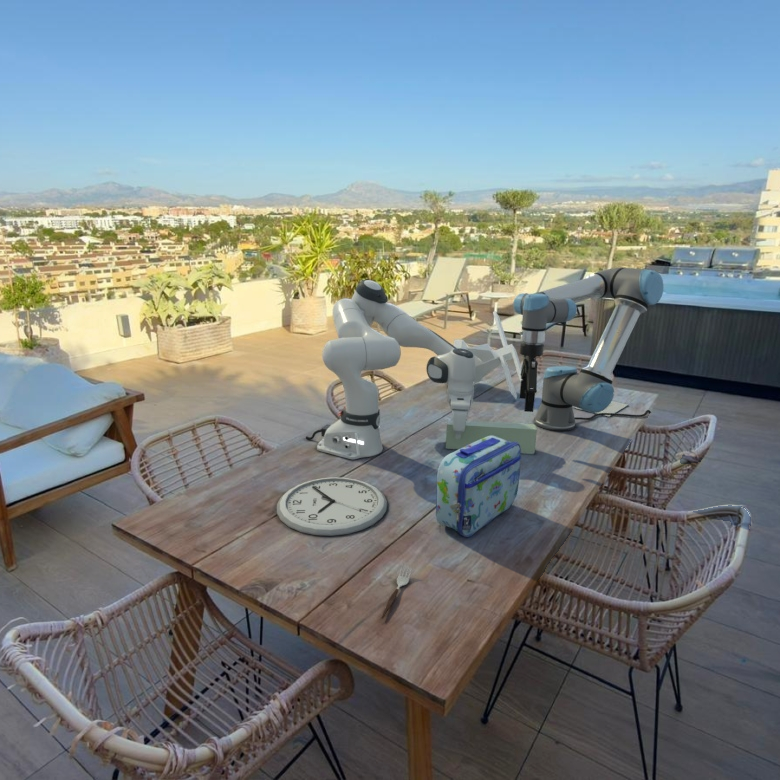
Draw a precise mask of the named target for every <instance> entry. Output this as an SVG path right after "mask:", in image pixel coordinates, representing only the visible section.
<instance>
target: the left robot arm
mask: <svg viewBox="0 0 780 780" xmlns="http://www.w3.org/2000/svg"><path fill="white" fill-rule="evenodd" d="M388 301H389V297H388V296H387V294H386V291H385V290H384V288H383V286H382V285H381V284H380V283H378V282H377V281H375V280H371V279H363V280H360V281H359V282H358V284H357V285H356V287H355V291H354V293H353V295H352V297H351V298H341V299H339V300H336V302H335V303H334V305H333V306H332V321H333V326H334V329H335V332H336V334H337V337H338V338H334V339H330V340H328V341H327V342H326V343H325V344H324V346H323V348H322V351H321V357H322V362H323V364H324V365H325V367H326V368H327V369H328V370H329V371H331V372H332V373H333V374H334V375H336V376H337V378H338V379H339V380H340V382H341V384H342V386H343V390H344V400H345V401H344V402H345V406H343V409H341V410H340V412H339V413H338V418H339V419H338V420H336V421H335V422H333V423H332V424H325V425H324V426H322V427H321V429H320V428H319V429H317V430H315V431H314V432H313V433H312V435H311V436H305V439H306V440H308V441H311V440H313V439H315V436H316V435H317V434H319V433H321V437H323V438H322V439H321V440H320V441H319V442H318V443H317V445H316V450H317V451H319V452H322V453H326V454H329V455H332V456H336V457H341V458H344V459H348V460H358V459H361V458H368V457H369V458H370V457H374V456H377V455H379V454H381V453H382V452H383V450H384V447H383V444H382V439H381V434H380V425H381V413H380V412H381V411H380V408H379V405H380V404H379V401H380V399H379V398H380V397H379V394H380V393H379V392H380V391H379V388H378V386H377V384H376V383H375V382H373V381H372V380H369V379H367V378H365V377H362V372H365V371H379V370H380V371H381V370H385V369H389V368H393V367H396V366H397V365H398V363H399V362H400V359H401V356H402V349H401V347H402V348H417V349H419V348H420V349H426V350H429V351H431V352H433V353H434V354H436V355H435V356H432V357H430V358H429V359H428V361H427V363H426V374H427V376H428V378H429V380H431V381H432V382H433V383H435V384H436V383H437V384H444V383H446V384H448V385H447V392H446V402H447V403H448V404H449V408H450V410H451V418H452V419H451V420H453V431H454V432H455V433H456V434H455V438H456V439H460V438H461V432H464V431H465V427H466V421H467V419H468V415H469V411H470V410H471V406H472V404H474V393H475V387H474V386H475V385H474V382H473V381H474V378H475V358H474V355H473V353H472V352H471V351H469V350H466V349H461V348H456V347H454V346H453V344H452V343H451V342H449V341H448V340H446V339H445V338H443V337H442V336H441V335H439V333H436V331H433V330H432V329H430V328H429V327H426V326H424V325H423V324H421V323H420V322H418V321H417V320H415V319H414V318H413V317H412V316H410V315H409V314H408V313H407V312H406V311H405V310H403V309H402V308H400V307H399V306H397V305H395V304H393V303H389V302H388ZM374 322H375V323H377V324H378V326H379V328H380V329H381V330H382V332H383V333H384V334H383V333H381V332H379V331H377V330H375V328H373V327H372V325H373V324H374Z"/></svg>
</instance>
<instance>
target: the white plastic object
mask: <svg viewBox="0 0 780 780" xmlns="http://www.w3.org/2000/svg"><path fill="white" fill-rule="evenodd" d="M492 315H493V319H494V321H495V324H496V325H495V326H496V328H497V332H498V335H499V338H500V342H501V345H502V347H500V348H498V349H496V350H495V349H493V348H492V347H491V346H490V344H489V343H488V342H487V343H483V344H479V345H473V346H469V345H468V343H466V342H465V340H464V339H463V338H460V339H458V338H454V340H453V344H452V345H453V346H454V347H456V348H461V349H466V350H469V351H471V352H472V353H473V355H474V358H475V378H474V381H473V384H477V383H480V382H482V381H484V378H485V377H486V376H487V375H489V374H490V373H492V372H494V371H495V370H496V369H497V368H499V367H500V366H502V370H503V373H504V376H505V380H506V383H507V386H508V390H509V393H510V394H511V395H512V397H513V398H514V399H515V400H517V392H516V391H517V390H516V388H515V385H514V381H513V378H512V375H511V371H510V369H509V365H508V361H510V360H513V363H514V366H515V369H516V372H517V376H518V380H519V382H520V383H521V380H523V379H521V370H522V365H521V362H520V359H519V355H518V352H517V349H516V347H515V346H514V345H513V343H511V344H508V341H507V337H506V334H505V331H504V328H503V325H502V321H501V318H500V315H499V314H498V312H497V311H496V310H495V311H492ZM443 384H444V385H445V386H448V384H446V383H443Z"/></svg>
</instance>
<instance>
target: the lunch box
mask: <svg viewBox="0 0 780 780" xmlns="http://www.w3.org/2000/svg"><path fill="white" fill-rule="evenodd" d="M521 455H522V453H521V449H520V445H519V444H518V443H517V442H509V441H506V440H504V439H501V438H498V437H496V436H487V437H485V438H482V439H480V440H478V441H476V442H474V443H471V444H469V445H467V446H465V447H463V448H461V449H456V450H454V451H453V452H451V453H448V454H446V455H445V456H444V457H443V458H442V459H441V460H440V463H439V465H438V467H437V474H436V485H435V486H436V494H435V495H436V497H435V498H436V499H435V516H436V522H437V523H438V524H440V525H442V526H445V527H448V528H450V529H453V530H454V531H456V532H458V534H459V535H461V537H465V538H470V537H471V536H473V535H475V534H476V533H477V532H478V531H479V530H480V529H482V528H483V527H485V526H486V525H488V524H489V523H490V522H491V521H493V520H494V519H495V518H496V517H497V516H499V515H501V514H502V513H504V512H505V511H507V510H508V509H510V508H511V507H512V506H513V504H514V502H515V500H516V498H517V495H518V494H517V493H518V491H519V483H520V474H521V458H522V457H521Z"/></svg>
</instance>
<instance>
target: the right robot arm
mask: <svg viewBox="0 0 780 780" xmlns="http://www.w3.org/2000/svg"><path fill="white" fill-rule="evenodd" d="M663 294H664V280H663V277H662V275H661V274H660V272H658V271H656V270H653V269H647V268H630V267H611V268H608V269H604V270H599V271H597V272H593V273H590V274H588V275H586V277H585V278H582V279H578V280H576V281H575V280H574V281H572V282H569V283H566V284H562V285H558V286H555V287H552V288H549V289H545V290H541V291H538V292H534V293H527V292H526V293H522V292H521V293H519V294H517V296H515V298H514V300H513V303H512V305H513V310H514V312H515V313H516V314H517V315H521V316H522V317H521V318H522V322H521V331H519V332H518V334H519V336H520V343H519V351H518V352H519V354H520V355H522V356H523V359H522V365H521V368H522V370H521V379H523V380H521V382H520V388H519V399H520V400H521V399H522V400H524V411H523V412H527V413H534V408H535V407H534V406H535V397H536V394H537V392H538V390H537V387H538V385H537V384H538V364H539V362H538V361H537V359H536V358H537V357H541V356H543V355H544V349H545V344H544V343H545V341H546V332H547V324H554V323H566V322H570V321H572V320H573V319H574V318H575V317H576V315H577V312H578V311H577V309H578V307H577V303H580V302H583V301H586V300H589V299H591V300H599V299H611V300H613V302H614V309H613V311H612V313H611V316H610V317H609V320H608V322H607V324H606V326H605V328H604V330H603V332H602V334H601V337H600V339H599V341H598V342H597V345H596V347H595V349H594V351H593V353H592V355H591V358H590V360H589V362H588V364H587V366H584V367H582V368H581V369H580V371H578V369H577V367H574V366H567V365H557V366H550V367H547V368H546V369H545V370H544V375H543V378H542V379H543V381H542V392H541V402H540V405H539V407H538V410H537V411H536V413H535V416H534V424H535V426H537V427H539V428H542V429H544V430H549V431H556V432H567V431H572V430H574V429H575V428H576V420H581V421H590V420H593V419H595V418H596V417H598V416H604V415H611V416H618V417H629V418H631V417H632V418H642V417H645V416H646V415H647V414H648V413H649V414H651V413H652V412H651V410H650V409H647V410H645V412H644V413H643V414H630V413H598V412H601V411H603V410H604V409H606V408H607V407H608V406H609V404H610V403H611V401H613V399H614V396H615V394H614V393H615V389H614V386H613V385H612V384H613V383H614V380H613V378H612V374H613V371H614V370H615V367H616V366H617V363H618V361H619V359H620V357H621V355H622V353H623V351H624V349H625V347H626V345H627V342H628V340H629V339H630V336H631V334H632V332H633V329H634V327H635V326H636V324H637V322H638V319H639V317H640V315H642V314H644V313H647V311H648V309H649V307H650V306H655V305H656V304H657V303H659V302H660V300H661V298H662V297H663ZM574 407H577V408H580V409H582V410H581V411H584V412H588V411H589V412H588V413H593V415H592V416H590V417H580V416H579V417H577V416H575V413H574ZM580 409H579V410H580ZM596 413H598V414H596Z"/></svg>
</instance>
